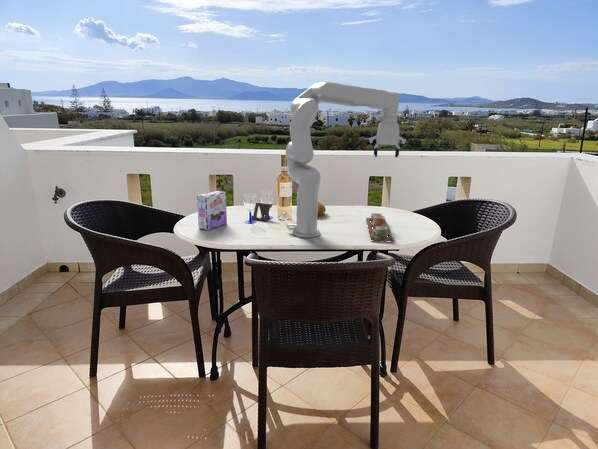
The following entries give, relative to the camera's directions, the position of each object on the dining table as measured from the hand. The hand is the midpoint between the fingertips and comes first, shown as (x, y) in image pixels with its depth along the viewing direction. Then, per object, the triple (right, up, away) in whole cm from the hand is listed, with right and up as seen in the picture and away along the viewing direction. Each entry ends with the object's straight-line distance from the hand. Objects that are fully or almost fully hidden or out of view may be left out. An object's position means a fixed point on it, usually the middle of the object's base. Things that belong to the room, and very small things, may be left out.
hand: (385, 156), depth 189 cm
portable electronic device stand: (-61, -30, +17) cm, 70 cm away
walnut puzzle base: (-4, -36, +1) cm, 36 cm away
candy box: (-84, -34, +3) cm, 90 cm away
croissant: (-35, -27, +27) cm, 52 cm away
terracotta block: (-4, -36, 0) cm, 36 cm away
